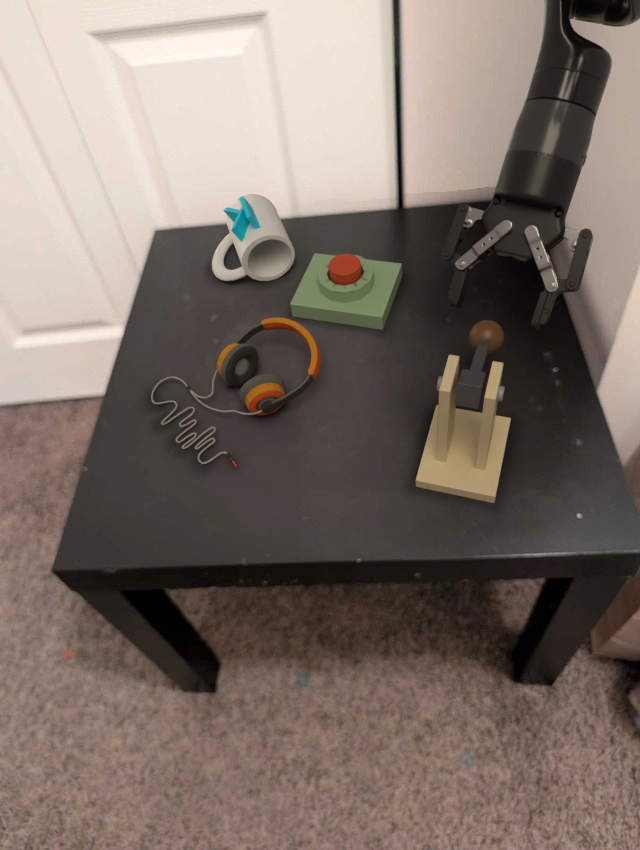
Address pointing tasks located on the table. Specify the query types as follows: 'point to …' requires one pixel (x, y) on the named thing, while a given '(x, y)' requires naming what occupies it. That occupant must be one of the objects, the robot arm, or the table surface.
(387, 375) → the table surface
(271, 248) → the mug
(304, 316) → the control block
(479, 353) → the lever
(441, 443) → the switch bracket
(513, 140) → the robot arm
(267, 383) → the headphones
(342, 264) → the button
